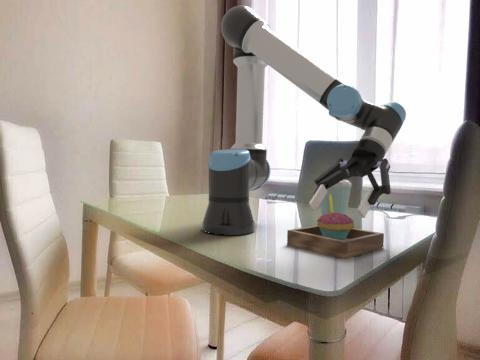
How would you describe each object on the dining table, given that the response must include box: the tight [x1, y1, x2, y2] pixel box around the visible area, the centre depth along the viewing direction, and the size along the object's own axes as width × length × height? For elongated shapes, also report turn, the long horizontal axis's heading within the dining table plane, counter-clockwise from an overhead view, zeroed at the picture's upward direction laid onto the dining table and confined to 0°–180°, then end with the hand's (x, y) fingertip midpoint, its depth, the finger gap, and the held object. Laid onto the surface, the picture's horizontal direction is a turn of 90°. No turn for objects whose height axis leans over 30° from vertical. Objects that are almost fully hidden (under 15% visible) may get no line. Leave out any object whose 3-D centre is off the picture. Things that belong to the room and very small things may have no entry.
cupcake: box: [316, 193, 355, 241], centre depth 85 cm, size 9×8×12 cm
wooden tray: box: [286, 225, 385, 260], centre depth 85 cm, size 16×16×4 cm
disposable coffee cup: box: [319, 179, 352, 216], centre depth 113 cm, size 11×11×15 cm
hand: (334, 210), depth 84 cm, fingers open, 13 cm apart
